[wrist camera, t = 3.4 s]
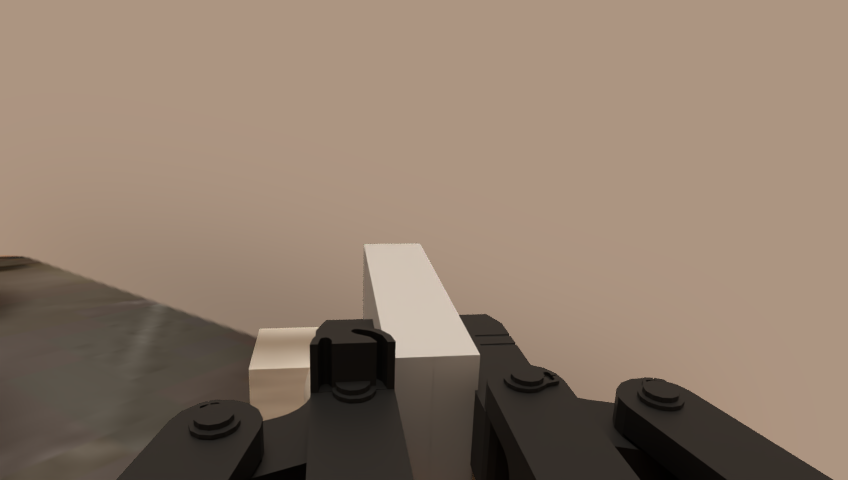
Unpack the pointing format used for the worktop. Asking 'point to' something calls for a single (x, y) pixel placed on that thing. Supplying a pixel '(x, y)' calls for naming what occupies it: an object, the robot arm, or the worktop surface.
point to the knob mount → (280, 370)
